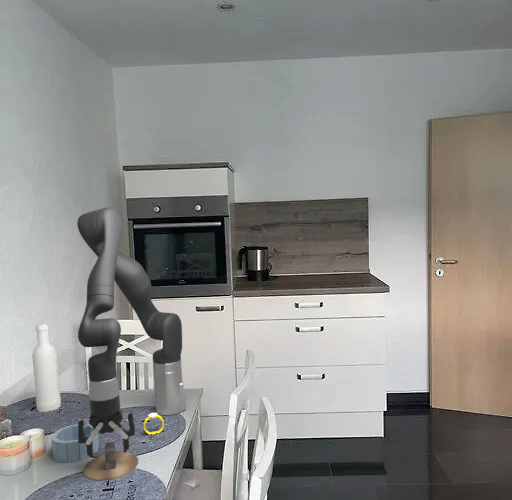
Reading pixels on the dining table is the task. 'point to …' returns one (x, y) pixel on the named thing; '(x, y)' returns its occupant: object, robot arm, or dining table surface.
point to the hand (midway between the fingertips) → (108, 453)
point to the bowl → (71, 444)
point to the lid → (110, 464)
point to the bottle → (45, 372)
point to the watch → (152, 416)
